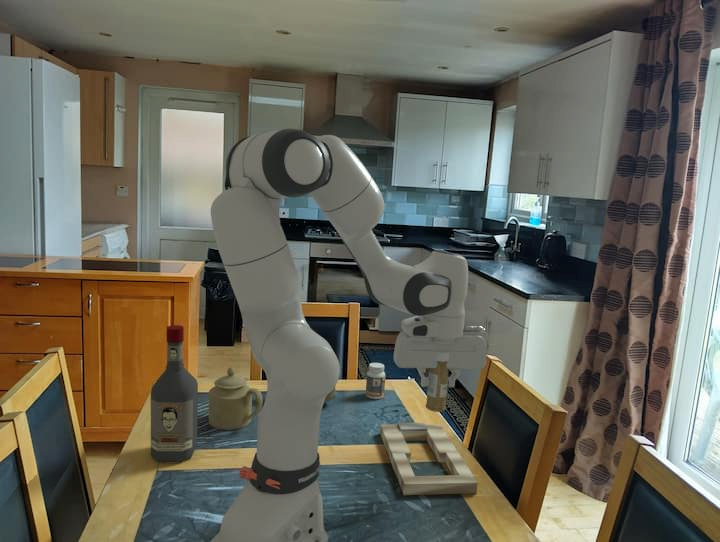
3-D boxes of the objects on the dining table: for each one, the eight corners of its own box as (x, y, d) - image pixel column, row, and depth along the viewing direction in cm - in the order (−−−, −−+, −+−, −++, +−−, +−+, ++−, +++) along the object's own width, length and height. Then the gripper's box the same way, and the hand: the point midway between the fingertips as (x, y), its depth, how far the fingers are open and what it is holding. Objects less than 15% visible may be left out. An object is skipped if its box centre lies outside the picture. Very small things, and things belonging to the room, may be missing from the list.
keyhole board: (476, 493, 116) (477, 479, 115) (403, 495, 113) (404, 481, 113) (439, 433, 143) (440, 422, 142) (379, 433, 140) (380, 422, 140)
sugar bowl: (269, 415, 148) (271, 362, 145) (260, 433, 137) (261, 376, 134) (216, 410, 148) (217, 358, 146) (202, 428, 137) (203, 372, 135)
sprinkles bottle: (448, 412, 118) (453, 353, 116) (428, 412, 117) (433, 353, 115) (442, 404, 122) (447, 347, 120) (422, 404, 122) (427, 346, 119)
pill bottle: (385, 399, 163) (388, 368, 161) (367, 399, 162) (369, 368, 160) (382, 392, 169) (384, 362, 167) (363, 392, 168) (365, 361, 166)
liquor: (159, 443, 128) (159, 321, 124) (198, 444, 129) (200, 322, 125) (148, 463, 119) (147, 332, 115) (190, 463, 120) (192, 333, 116)
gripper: (483, 322, 121) (477, 381, 123) (394, 320, 118) (389, 380, 120) (494, 330, 115) (487, 392, 117) (400, 328, 112) (395, 391, 114)
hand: (437, 386), depth 119 cm, fingers closed on sprinkles bottle, 4 cm apart
